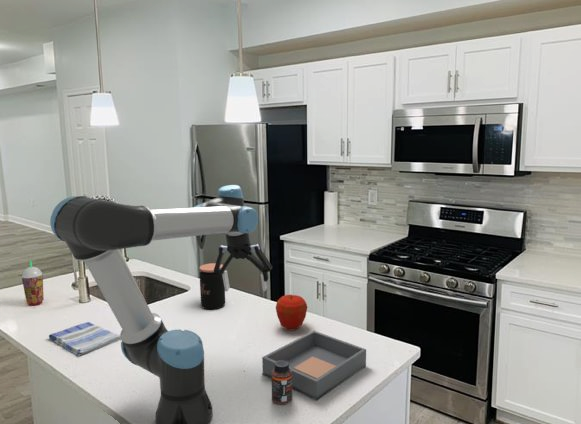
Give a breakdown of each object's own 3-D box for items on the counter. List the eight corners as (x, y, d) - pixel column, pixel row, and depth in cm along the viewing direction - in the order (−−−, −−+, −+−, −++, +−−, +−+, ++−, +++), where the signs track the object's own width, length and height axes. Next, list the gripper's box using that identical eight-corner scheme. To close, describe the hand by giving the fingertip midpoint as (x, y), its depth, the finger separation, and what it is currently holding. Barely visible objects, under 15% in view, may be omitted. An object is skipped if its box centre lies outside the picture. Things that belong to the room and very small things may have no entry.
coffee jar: (198, 303, 209) (196, 265, 206) (221, 299, 214) (220, 262, 211) (204, 312, 200) (202, 271, 197) (228, 307, 204) (227, 268, 201)
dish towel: (79, 359, 161) (78, 351, 161) (47, 340, 176) (46, 333, 175) (124, 341, 175) (123, 334, 174) (90, 325, 189) (90, 318, 188)
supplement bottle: (290, 406, 132) (289, 369, 130) (269, 404, 133) (269, 367, 131) (294, 394, 138) (293, 359, 136) (274, 392, 139) (273, 357, 137)
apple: (280, 336, 176) (279, 301, 173) (272, 324, 187) (272, 290, 185) (311, 332, 179) (311, 297, 176) (302, 320, 190) (302, 287, 188)
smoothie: (20, 306, 208) (15, 262, 204) (35, 299, 216) (30, 257, 212) (35, 308, 206) (30, 264, 202) (50, 301, 213) (45, 259, 210)
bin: (316, 400, 135) (316, 381, 134) (262, 374, 149) (262, 357, 148) (365, 366, 154) (366, 349, 153) (313, 346, 168) (313, 330, 167)
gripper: (275, 226, 154) (283, 284, 161) (205, 229, 160) (216, 284, 167) (270, 235, 147) (278, 294, 154) (197, 237, 153) (208, 294, 160)
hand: (246, 289), depth 160 cm, fingers open, 13 cm apart
